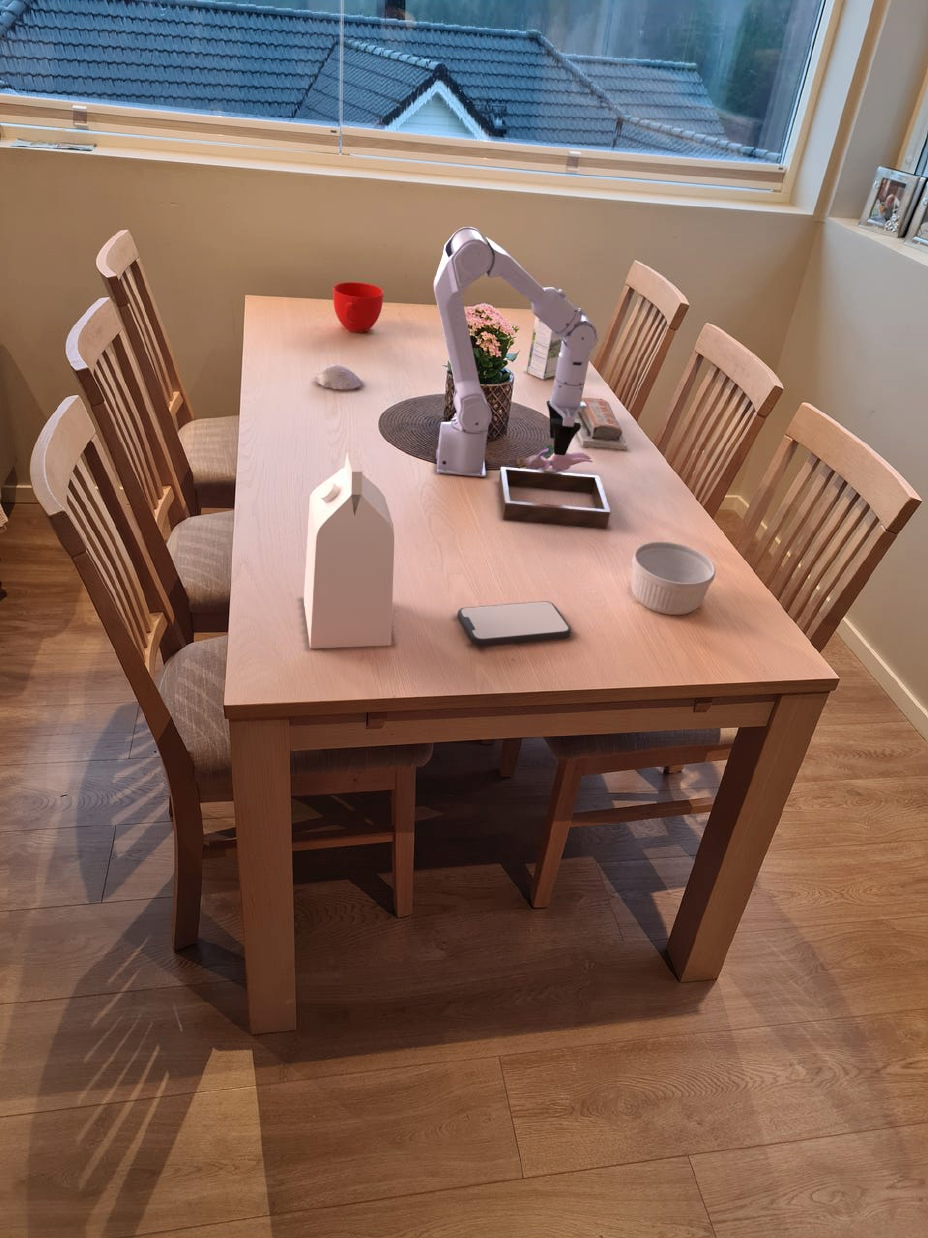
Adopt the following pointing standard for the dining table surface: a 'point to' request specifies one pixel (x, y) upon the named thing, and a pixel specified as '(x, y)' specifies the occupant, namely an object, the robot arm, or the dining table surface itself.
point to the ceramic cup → (357, 305)
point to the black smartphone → (513, 623)
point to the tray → (548, 511)
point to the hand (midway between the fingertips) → (557, 445)
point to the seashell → (338, 378)
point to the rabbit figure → (553, 460)
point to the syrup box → (544, 351)
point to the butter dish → (599, 425)
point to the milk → (349, 562)
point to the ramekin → (670, 577)
